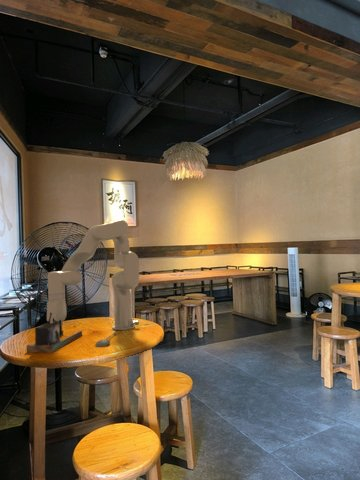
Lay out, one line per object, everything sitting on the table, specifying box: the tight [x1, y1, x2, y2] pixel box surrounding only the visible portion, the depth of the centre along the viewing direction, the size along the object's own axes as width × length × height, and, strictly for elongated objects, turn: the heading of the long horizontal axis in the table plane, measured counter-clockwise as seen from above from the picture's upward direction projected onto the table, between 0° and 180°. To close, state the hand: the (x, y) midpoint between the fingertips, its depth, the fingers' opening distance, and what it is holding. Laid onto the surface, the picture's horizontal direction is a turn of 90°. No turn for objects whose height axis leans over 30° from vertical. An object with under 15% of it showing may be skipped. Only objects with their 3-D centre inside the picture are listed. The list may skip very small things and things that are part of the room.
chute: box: [26, 330, 83, 354], centre depth 153 cm, size 12×27×3 cm, turn 169°
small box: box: [34, 322, 61, 345], centre depth 147 cm, size 11×6×10 cm, turn 170°
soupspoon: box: [94, 331, 118, 348], centre depth 155 cm, size 22×3×7 cm
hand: (58, 334), depth 155 cm, fingers closed
